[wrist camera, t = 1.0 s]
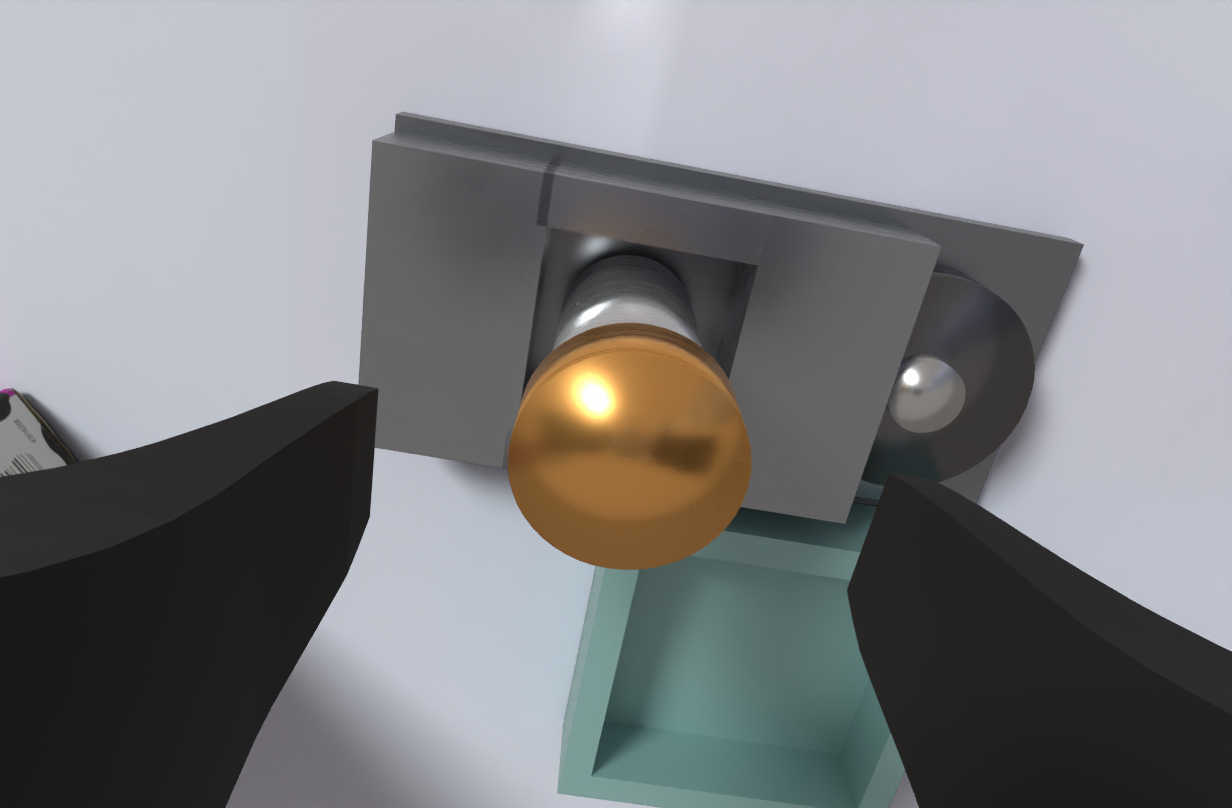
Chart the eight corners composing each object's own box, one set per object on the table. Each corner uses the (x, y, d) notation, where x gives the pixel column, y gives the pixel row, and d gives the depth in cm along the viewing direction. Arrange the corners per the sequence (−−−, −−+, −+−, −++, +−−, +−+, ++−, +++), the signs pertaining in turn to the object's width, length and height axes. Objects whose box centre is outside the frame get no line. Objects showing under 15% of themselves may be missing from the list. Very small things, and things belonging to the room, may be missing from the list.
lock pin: (722, 257, 18) (779, 378, 11) (686, 404, 19) (720, 585, 13) (560, 227, 18) (525, 334, 11) (537, 378, 19) (493, 550, 13)
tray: (954, 519, 21) (993, 573, 19) (853, 767, 25) (875, 836, 23) (617, 464, 21) (616, 513, 18) (563, 725, 24) (557, 793, 22)
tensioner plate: (1070, 238, 18) (1136, 267, 16) (961, 502, 21) (1004, 561, 19) (403, 111, 17) (367, 122, 15) (382, 407, 20) (349, 455, 18)
